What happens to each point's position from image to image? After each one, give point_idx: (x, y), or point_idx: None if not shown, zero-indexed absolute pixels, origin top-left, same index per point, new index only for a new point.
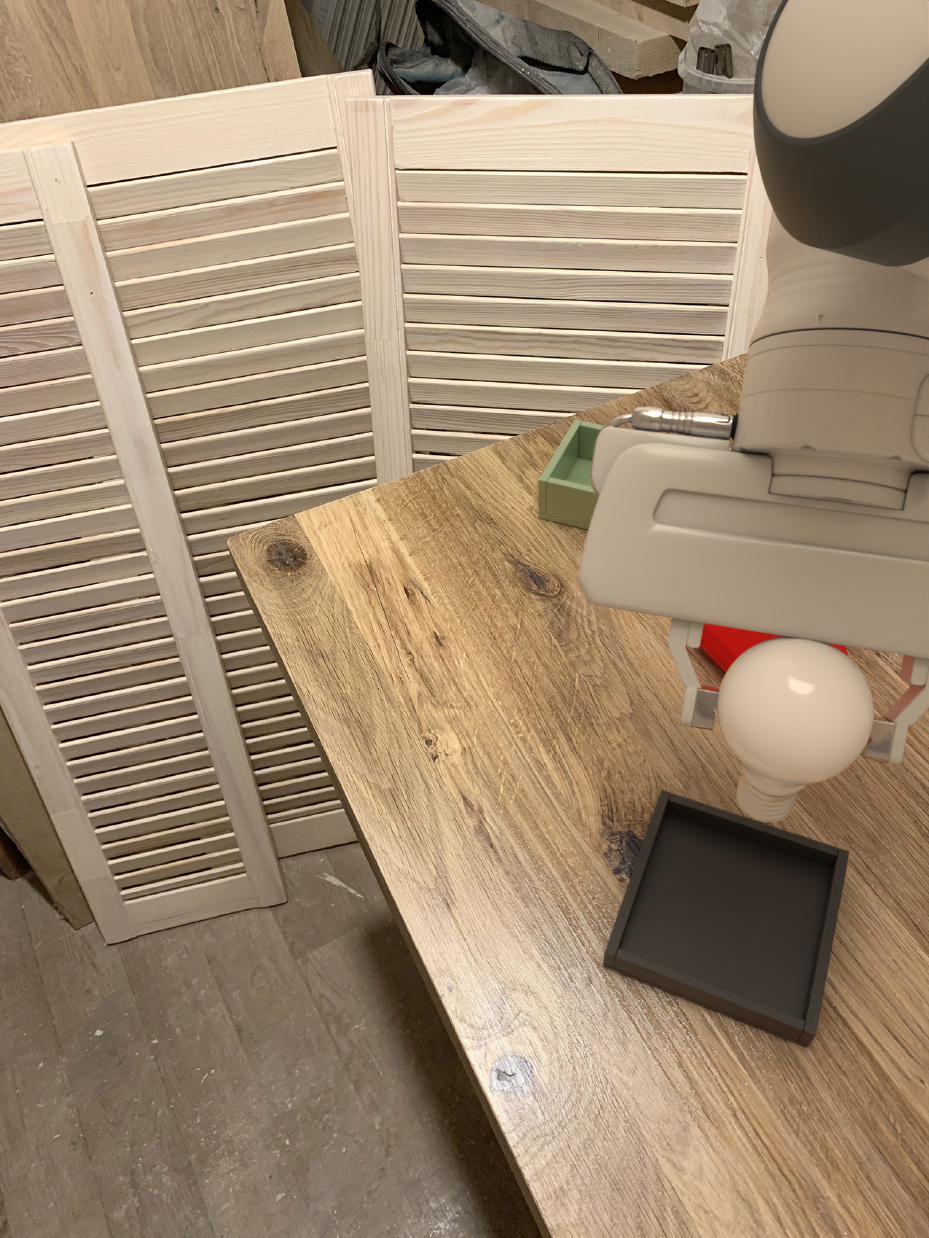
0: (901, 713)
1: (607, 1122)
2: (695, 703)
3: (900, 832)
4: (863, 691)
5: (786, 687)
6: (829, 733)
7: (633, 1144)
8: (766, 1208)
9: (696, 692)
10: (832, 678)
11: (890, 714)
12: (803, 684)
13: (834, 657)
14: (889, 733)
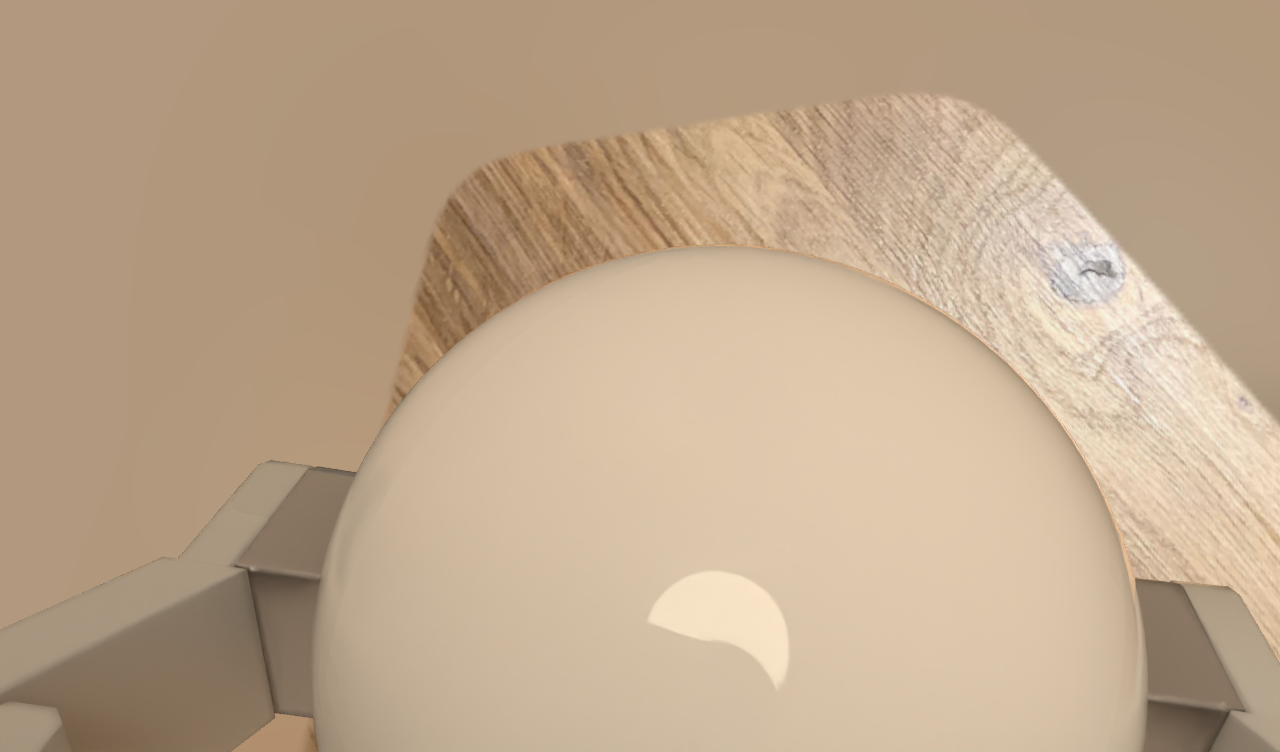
0: (190, 591)
1: (909, 225)
2: (1210, 646)
3: None
4: (362, 543)
5: (876, 426)
6: (599, 275)
7: (864, 201)
8: (661, 151)
9: (1237, 694)
10: (562, 503)
11: (245, 677)
12: (770, 429)
13: (513, 742)
14: (280, 530)
